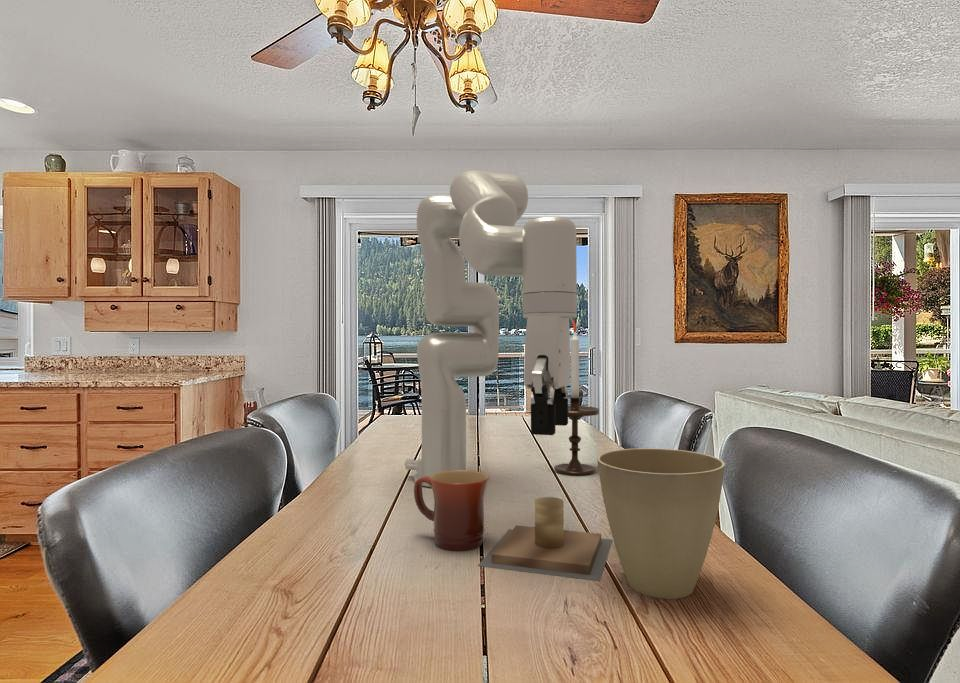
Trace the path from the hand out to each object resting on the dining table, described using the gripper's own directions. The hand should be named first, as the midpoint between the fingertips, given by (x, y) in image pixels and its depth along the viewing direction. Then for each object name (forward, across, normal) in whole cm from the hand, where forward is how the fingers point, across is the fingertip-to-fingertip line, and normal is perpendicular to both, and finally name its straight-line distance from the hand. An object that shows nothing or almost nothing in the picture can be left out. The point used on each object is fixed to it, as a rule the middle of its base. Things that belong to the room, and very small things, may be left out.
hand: (550, 429), depth 84 cm
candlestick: (+17, -54, -5) cm, 57 cm away
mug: (+18, 0, -15) cm, 24 cm away
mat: (+18, 0, 0) cm, 18 cm away
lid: (+17, 0, 0) cm, 17 cm away
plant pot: (+18, +6, +15) cm, 24 cm away
